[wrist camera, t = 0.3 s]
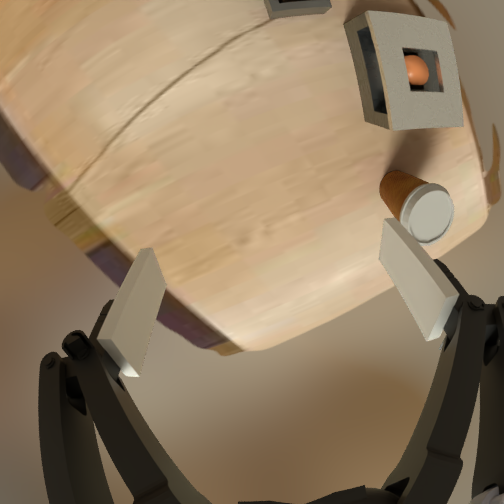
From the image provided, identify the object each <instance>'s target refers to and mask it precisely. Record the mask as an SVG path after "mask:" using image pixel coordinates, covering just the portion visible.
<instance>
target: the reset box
mask: <svg viewBox="0 0 504 504" xmlns="http://www.w3.org/2000/svg"><path fill="white" fill-rule="evenodd" d="M343 25H344V28H345V31H346V35H347V39H348V42H349V46H350V50H351V54H352V58H353V62H354V66H355V70H356V75H357V80H358V85H359V90H360V95H361V100H362V106H363V112H364V118H365V122H368V123H371V124H375V125H378V126H381V127H384V128H386V129H389V130H392V131H396V130H408V129H421V128H440V127H464V124H463V109H462V98H461V90H460V82H459V75H458V69H457V64H456V59H455V54H454V49H453V45H452V40H451V36H450V32H449V29H448V25H447V22H444V21H439V20H435V19H431V18H426V17H420V16H414V15H408V14H400V13H392V12H382V11H366V12H364V13H362V14H360V15H359V16H357V17H355V18H354V19H352V20H350V21H348V22H347V23H345V24H343ZM409 55H415V56H418V57H420V58H421V59H422V60H423V61H424V62H425V63H426V65H427V67H428V71H429V77H428V80H427V82H426V83H425V84H423V85H409V79H408V74H407V69H406V64H405V59H404V56H409Z"/></svg>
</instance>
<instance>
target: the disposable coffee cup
mask: <svg viewBox="0 0 504 504" xmlns="http://www.w3.org/2000/svg"><path fill="white" fill-rule="evenodd" d="M380 196H381V198H382V199H383V201H384V202H385V204H386V205H387V206H388V208H389V209H390V211H391V212H392V214H393V215H394V217H395V218H396V219H397V220H398V221H399V222H400V223H401V224H402V225H403V226H404V228H405V229H406V230H407V231H408V232H409V233H410V234H411V235H412V236H413V237H414V239H415V240H416V241H417V242H418V243H419V244H420V245H421V246H428V245H431V244H434V243H436V242H437V241H439V240H440V239H441V238H442V237H443V236H444V235H445V234H446V233H447V231H448V230H449V228H450V226H451V224H452V221H453V217H454V205H453V201H452V199H451V197H450V195H449V193H448V192H447V190H446V189H445V188H444V187H443V186H441V185H439V184H435V183H428V182H426V181H423V180H421V179H419V178H416V177H414V176H411V175H409V174H406V173H404V172H401V171H397V170H396V171H392V172H389V173H388V174H387V175H385V177H384V178H383V179H382V181H381V184H380Z"/></svg>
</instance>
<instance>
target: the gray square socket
mask: <svg viewBox="0 0 504 504" xmlns="http://www.w3.org/2000/svg"><path fill="white" fill-rule="evenodd" d="M264 3H265V6H266V9H267V12H268V15H269V18H270V19H276V18H283V17H291V16H301V15H313V14H324V13H326V12H327V11H328V10H329V9H330V8H331V7H332V5H331V3H330V0H310V1H297V2H287V3H279V1H278V0H264Z"/></svg>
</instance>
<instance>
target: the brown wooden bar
mask: <svg viewBox="0 0 504 504" xmlns="http://www.w3.org/2000/svg"><path fill="white" fill-rule="evenodd" d="M278 1H279V3H287V2H297V1H310V0H278Z"/></svg>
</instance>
